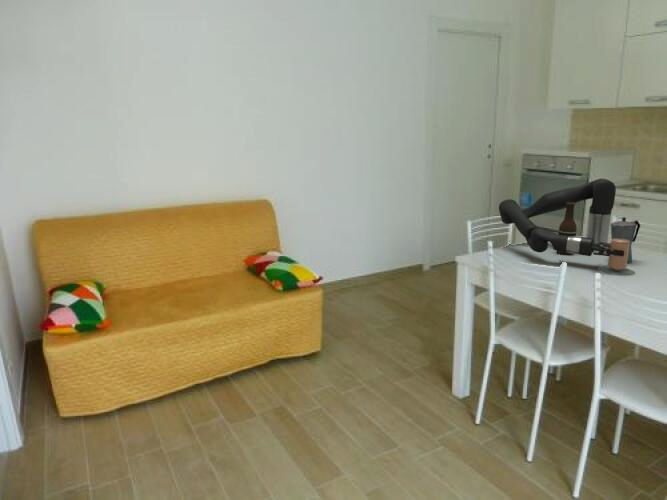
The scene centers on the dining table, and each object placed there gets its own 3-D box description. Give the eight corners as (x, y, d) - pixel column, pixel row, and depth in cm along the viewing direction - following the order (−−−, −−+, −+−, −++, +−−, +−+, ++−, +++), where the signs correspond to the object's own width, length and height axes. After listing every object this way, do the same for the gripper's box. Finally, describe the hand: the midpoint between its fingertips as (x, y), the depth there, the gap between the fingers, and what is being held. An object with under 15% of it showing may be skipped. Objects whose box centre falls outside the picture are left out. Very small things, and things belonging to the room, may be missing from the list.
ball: (610, 269, 202) (611, 261, 201) (620, 269, 200) (621, 261, 200) (612, 271, 198) (613, 263, 198) (622, 272, 197) (623, 264, 197)
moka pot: (597, 261, 216) (603, 216, 210) (623, 257, 221) (629, 213, 216) (616, 267, 207) (623, 220, 202) (643, 263, 212) (650, 217, 207)
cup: (606, 263, 203) (609, 237, 200) (623, 265, 201) (627, 238, 198) (609, 268, 197) (613, 241, 194) (627, 269, 195) (631, 242, 192)
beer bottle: (570, 251, 232) (576, 201, 226) (576, 256, 224) (583, 204, 218) (553, 251, 233) (558, 201, 226) (559, 255, 225) (564, 203, 219)
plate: (595, 266, 208) (595, 265, 207) (630, 269, 204) (630, 267, 203) (601, 276, 196) (601, 274, 195) (638, 278, 192) (638, 276, 192)
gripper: (582, 250, 212) (627, 257, 202) (574, 258, 201) (621, 265, 191) (585, 233, 210) (629, 239, 200) (577, 240, 199) (623, 246, 189)
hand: (625, 251), depth 196 cm, fingers closed on cup, 6 cm apart
